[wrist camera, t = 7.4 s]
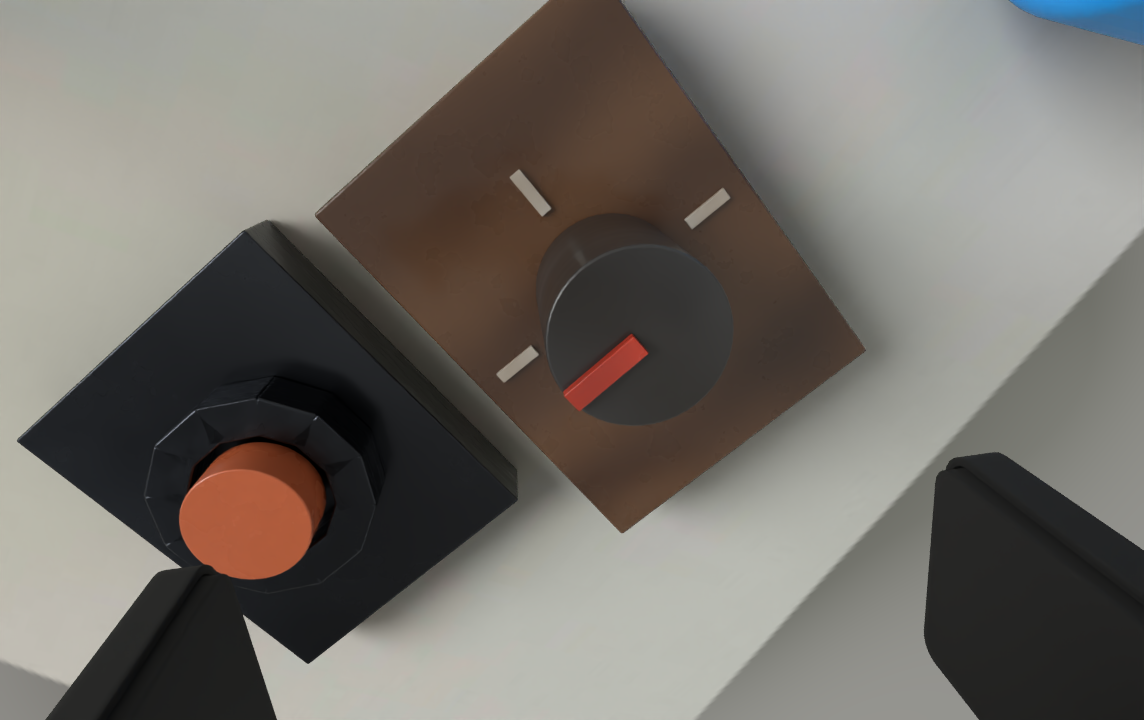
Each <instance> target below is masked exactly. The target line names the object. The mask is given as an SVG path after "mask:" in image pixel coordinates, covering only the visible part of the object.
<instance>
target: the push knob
mask: <svg viewBox="0 0 1144 720" xmlns="http://www.w3.org/2000/svg"><path fill="white" fill-rule="evenodd" d="M325 507H326V490H325V486H324V483H323V481H322V478H321V476H320V475H319V473H318V471H317V470H316V469H315V467H314V466H313V465H312V464H311V463H310V462H309V461H308V460H307V459H306V458H305V457H303V456H302V455H301V454H299V453H297V452H296V451H294V450H292V449H290V448H288V447H285V446H282V445H279V444H274V443H267V442H252V443H245V444H241V445H238V446H235V447H233V448H230V449H229V450H227V451H225V452H223V453H222V454H221V455H219V456H218V457H217V458H216V459H215V460H214V461H213V462H212V464H211V465H210V466H209V467H208V468H207V470H206V471H205V472H204V473H203V475H202V476H201V477H200V478H199V479H198V481H197V482H196V483H195V484H194V485H193V487H192V488H191V489H190V490H189V492H188V493H187V495H186V496H185V498H184V500H183V502H182V505H181V508H180V515H179V525H180V530H181V534H182V537H183V539H184V541H185V543H186V545H187V547H188V548H189V550H190V551H191V552H192V553H193V555H194V556H195V557H196V558H197V559H198V560H200V561H201V562H202V563H203V564H205V565H206V564H207V565H210V566H212V567H213V568H214V569H215V570H216V572H219V573H221V574H226V575H228V576H230V577H234V578H239V579H263V578H269V577H273V576H276V575H278V574H281V573H283V572H285V571H287V570H289V569H290V568H291V567H293V566H294V565H296V564H297V563H298V562H299V561H300V560H301V559H302V557H303V556H304V555H305V553H306V552H307V550H308V548H309V546H310V544H311V541H312V539H313V537H314V535H315V532H316V530H317V528H318V526H319V523H320V521H321V519H322V516H323V514H324V511H325Z"/></svg>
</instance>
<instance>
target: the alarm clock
mask: <svg viewBox="0 0 1144 720" xmlns="http://www.w3.org/2000/svg"><path fill="white" fill-rule="evenodd" d="M1009 1H1010V2H1012V3H1013V4H1014V5H1016V6H1017V7H1018V8H1020V9H1022V10H1023V11H1026V12H1028V13H1030V14H1032V15H1034V16H1036V17H1040V18H1043V19H1047V20H1051V21H1054V22H1058V23H1062V24H1066V25H1069V26H1073V27H1077V28H1081V29H1084V30H1088V31H1092V32H1096V33H1099V34H1103V35H1107V36H1111V37H1114V38H1118V39H1122V40H1126V41H1129V42H1133V43H1137V44H1140V45H1144V0H1009Z"/></svg>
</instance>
